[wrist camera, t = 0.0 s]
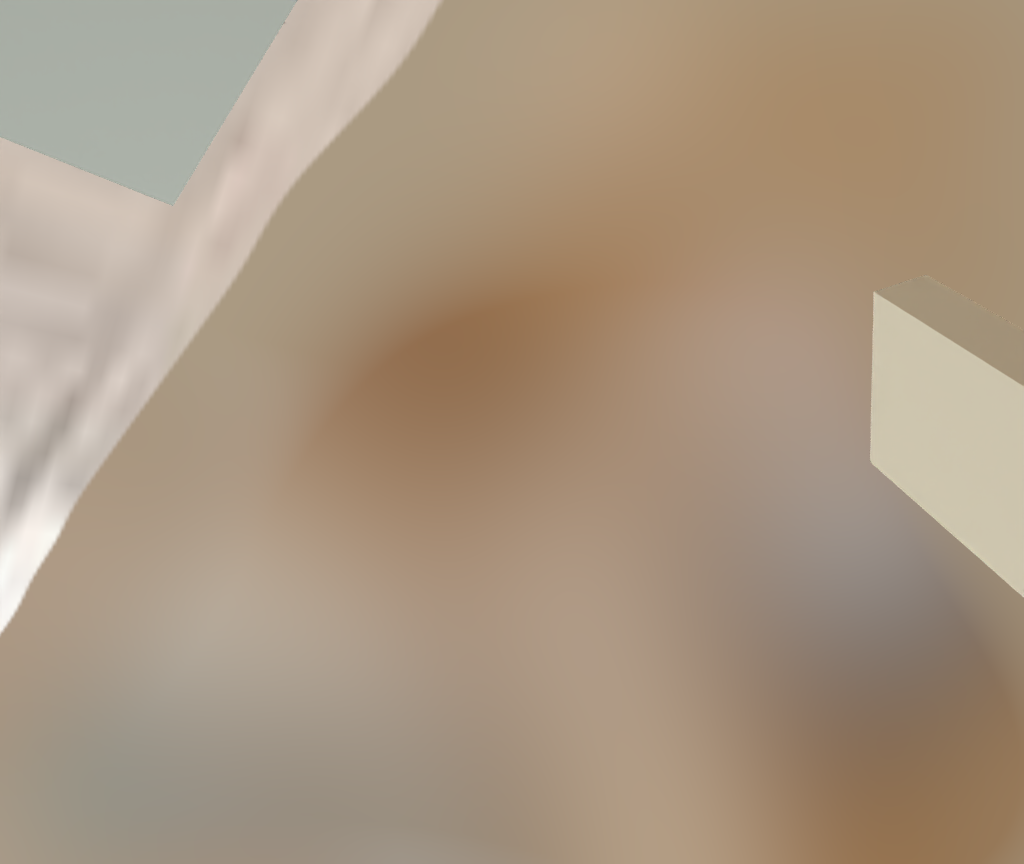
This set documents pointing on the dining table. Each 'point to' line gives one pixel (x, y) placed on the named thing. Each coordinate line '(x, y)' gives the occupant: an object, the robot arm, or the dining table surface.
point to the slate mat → (129, 81)
